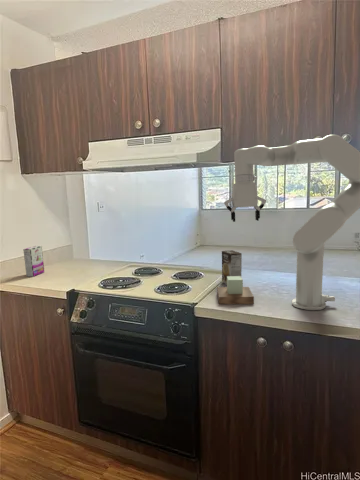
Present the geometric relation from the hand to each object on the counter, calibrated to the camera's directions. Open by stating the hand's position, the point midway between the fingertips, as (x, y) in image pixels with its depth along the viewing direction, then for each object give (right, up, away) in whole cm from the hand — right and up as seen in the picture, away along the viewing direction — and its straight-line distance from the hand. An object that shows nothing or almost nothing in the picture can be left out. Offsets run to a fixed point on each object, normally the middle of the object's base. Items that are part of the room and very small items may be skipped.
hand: (245, 220), depth 138 cm
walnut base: (-4, -33, +2) cm, 33 cm away
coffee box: (-2, -30, +25) cm, 39 cm away
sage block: (-4, -30, +2) cm, 30 cm away
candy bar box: (-113, -29, +57) cm, 130 cm away
